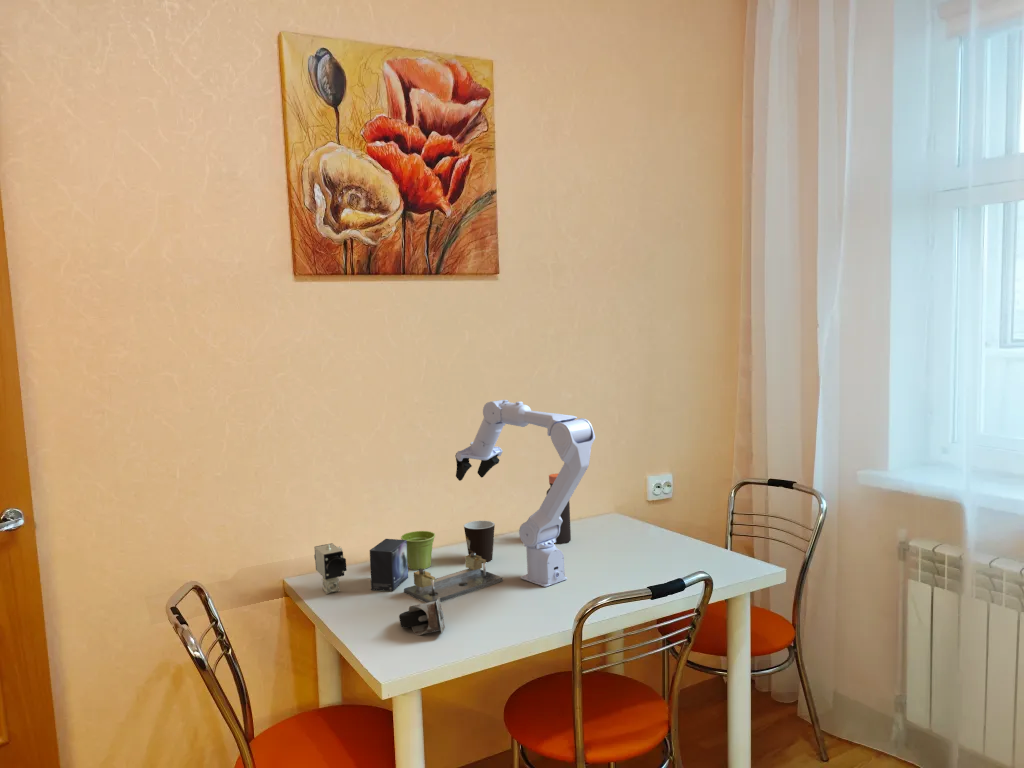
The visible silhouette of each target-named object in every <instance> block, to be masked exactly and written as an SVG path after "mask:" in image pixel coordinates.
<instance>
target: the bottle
mask: <svg viewBox="0 0 1024 768" xmlns="http://www.w3.org/2000/svg"><path fill="white" fill-rule="evenodd" d="M558 474H559V472H558V473H551V474H549V475H548V483H549V488H548V489H547V491H546V495H547V494H548V492H549V490H550V488H551V487H552V485H553V483H554V481H555V479H556V478H557V476H558ZM570 509H571V507H570V500H569V501H568V503H567V505H566V506H565V508H564V510H563V512H562V513H561V515H560V517H561V518H562V520H563V522H562V524H561V526H560V533H559V536H558V537H557V538H556V542H555V543H557V544H556V545H558V544H559V545H562V543H564V544H567V543H569V541H570V542H571V540H572V536H571V533H572V530H571V512H570V511H571V510H570Z"/></svg>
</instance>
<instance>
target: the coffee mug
mask: <svg viewBox="0 0 1024 768" xmlns="http://www.w3.org/2000/svg"><path fill="white" fill-rule="evenodd" d="M495 524H496V523H495V522H493V521H490V520H473V521H468V522H466V523H464V524H463V529H464V535H465V542H466V547H467V553H468V555H470V554H471V553H473V552H474V553H476V555H478V556H481V557H482V559H485V560H486V562H487V563H490V562H492V561H493V555H494V554H493V552H494V538H495V526H496V525H495ZM491 560H492V561H491ZM482 564H483V562H482Z"/></svg>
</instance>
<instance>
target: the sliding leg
mask: <svg viewBox="0 0 1024 768" xmlns="http://www.w3.org/2000/svg"><path fill="white" fill-rule="evenodd" d="M464 558H465V559H464V561H465V569H472V570H477V569H482V570H483V572H484V576H486V572H487V570H486V569H487V568H486V567H487V566H486V564H487V563H486V560H485V559H482V557H481V556H478V555H476V553H474V552H473V553H471V554H470V555H469V554H468V555H465V556H464ZM482 562H483V563H482Z"/></svg>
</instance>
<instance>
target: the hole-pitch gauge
mask: <svg viewBox="0 0 1024 768" xmlns="http://www.w3.org/2000/svg"><path fill="white" fill-rule="evenodd" d="M431 573H432V572H429V571H426V569H418V571H417V570H416V571H415V572H413V584H414V585H411V586H409V587H406V588H404V589H403V593H404V594H406V595H408V596H410V597H413V598H415V599H417V600H419V601H421V602H424V603H428V602H433V601H437V599H438V598H440V603H441V602H445V601H448V600H451V599H454V598H456V597H457V598H458V597H460V596H462V595H466V594H469V593H471V592H475V591H478V590H480V589H484V588H486V587H490V586H492V585H495V584H499V583H501V582H504V580H503V579H504V577H502V576H499V575H498V574H495V573H491V572H489V571H486V576H484V572H483V569H482V568H480V569H477V570H472V569H469V568H465V569H463V570H459V571H456V572H453V573H450V574H446V575H443V576H441V577H437V578H436V577H435V576H433V575H432V574H431Z"/></svg>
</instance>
